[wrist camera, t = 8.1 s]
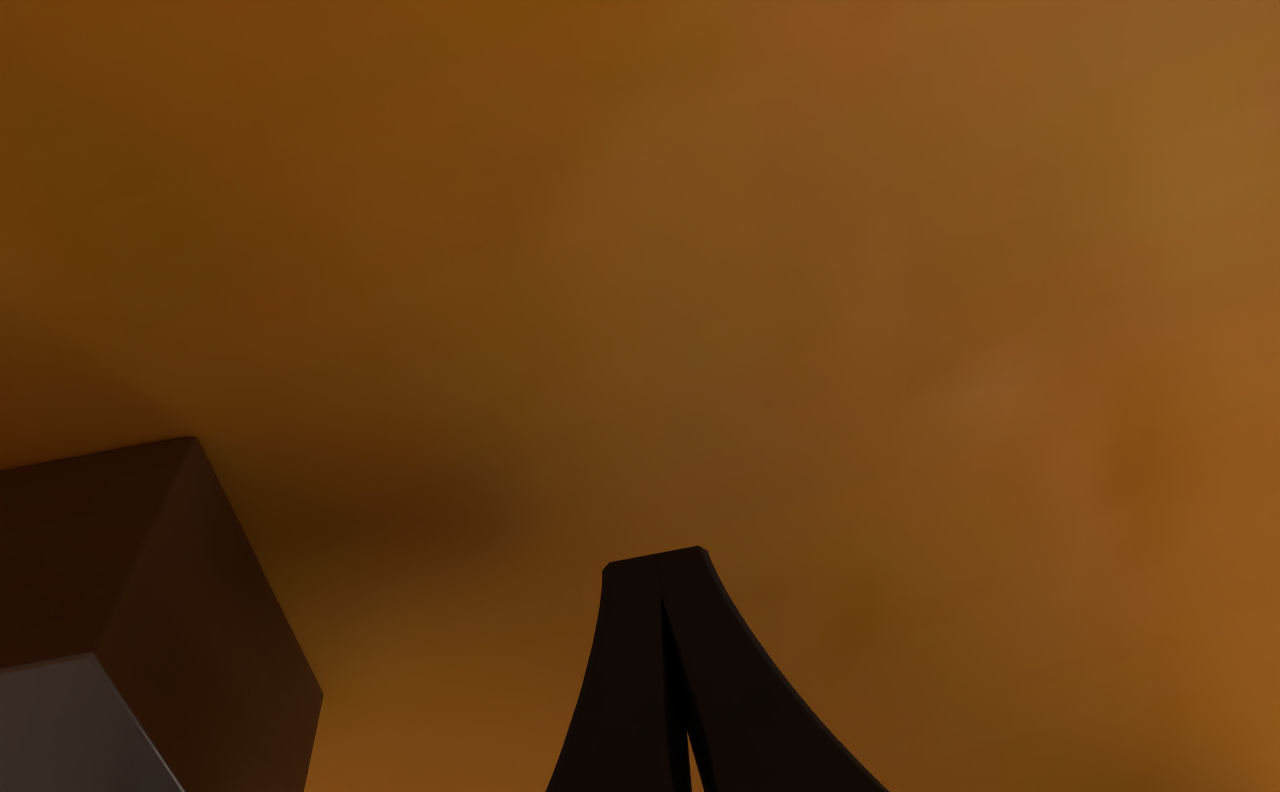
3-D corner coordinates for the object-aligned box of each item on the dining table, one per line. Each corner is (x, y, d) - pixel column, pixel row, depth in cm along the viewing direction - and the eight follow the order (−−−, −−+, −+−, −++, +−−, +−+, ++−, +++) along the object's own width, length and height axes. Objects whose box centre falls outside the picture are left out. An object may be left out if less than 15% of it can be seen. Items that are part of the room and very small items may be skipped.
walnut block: (324, 694, 16) (276, 929, 13) (3, 754, 16) (-128, 1007, 13) (197, 434, 13) (91, 655, 10) (-199, 507, 13) (-437, 752, 10)
